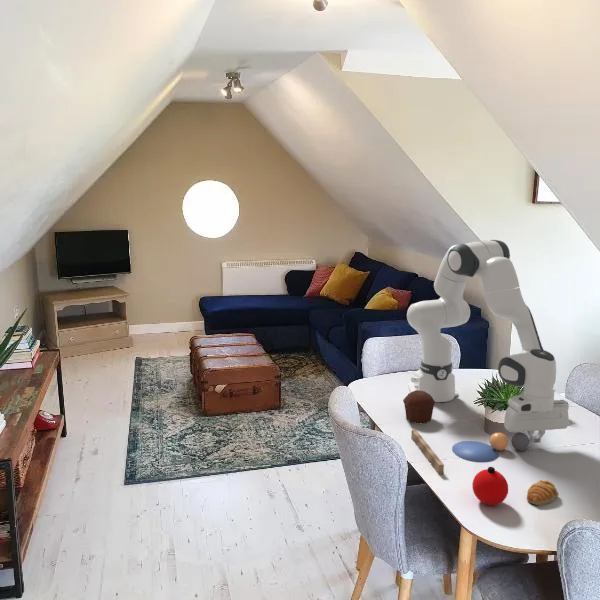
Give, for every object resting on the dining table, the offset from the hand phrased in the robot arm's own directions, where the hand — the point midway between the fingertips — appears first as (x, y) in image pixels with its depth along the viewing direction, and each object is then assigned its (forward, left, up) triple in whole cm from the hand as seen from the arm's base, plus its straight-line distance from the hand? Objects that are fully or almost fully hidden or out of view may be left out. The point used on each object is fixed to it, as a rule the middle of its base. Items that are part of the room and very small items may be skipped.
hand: (534, 442), depth 180 cm
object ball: (0, -12, +1) cm, 12 cm away
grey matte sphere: (+1, -6, +1) cm, 6 cm away
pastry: (+28, -14, -2) cm, 31 cm away
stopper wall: (0, -36, -2) cm, 36 cm away
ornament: (+28, -29, -2) cm, 40 cm away
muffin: (-27, -29, -2) cm, 40 cm away
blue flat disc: (0, -20, -2) cm, 20 cm away
